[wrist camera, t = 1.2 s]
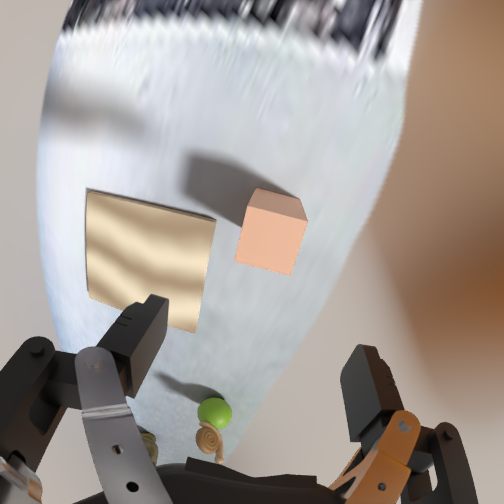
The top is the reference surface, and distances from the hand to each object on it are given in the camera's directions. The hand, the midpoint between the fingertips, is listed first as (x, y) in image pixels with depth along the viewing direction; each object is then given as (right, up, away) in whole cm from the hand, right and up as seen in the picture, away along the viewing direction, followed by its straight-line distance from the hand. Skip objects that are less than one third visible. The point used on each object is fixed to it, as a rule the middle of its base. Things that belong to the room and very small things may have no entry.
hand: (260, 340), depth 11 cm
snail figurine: (-6, -21, +30) cm, 37 cm away
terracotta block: (+2, +7, +18) cm, 19 cm away
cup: (-23, -37, +39) cm, 59 cm away
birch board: (-14, +2, +21) cm, 25 cm away
